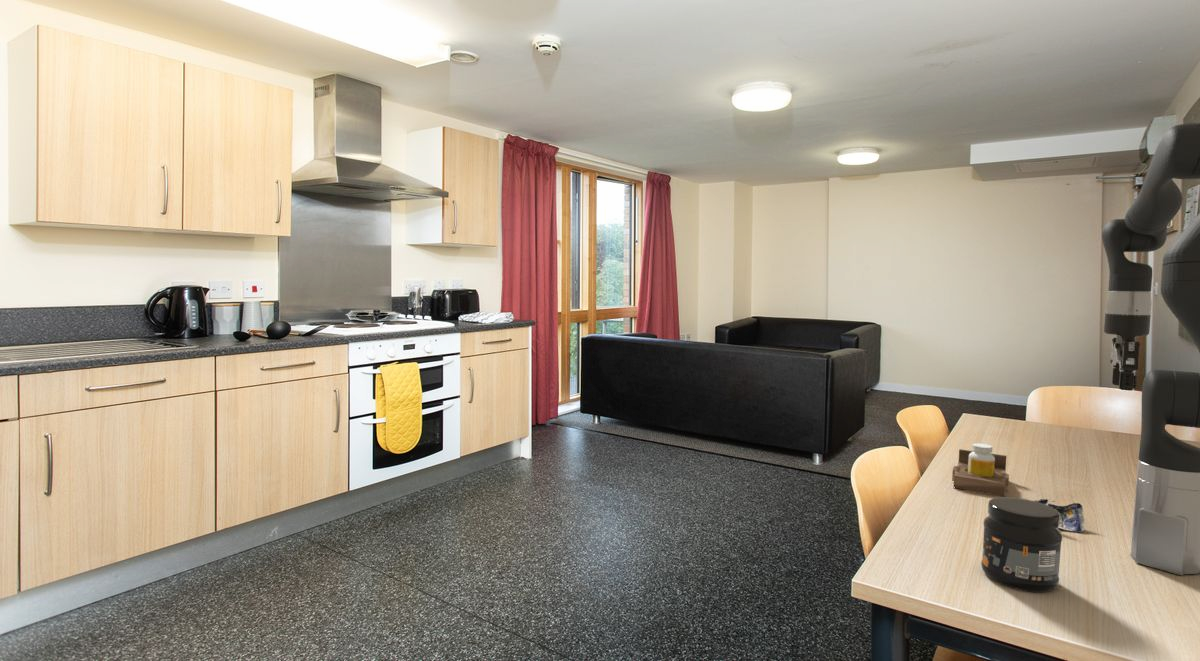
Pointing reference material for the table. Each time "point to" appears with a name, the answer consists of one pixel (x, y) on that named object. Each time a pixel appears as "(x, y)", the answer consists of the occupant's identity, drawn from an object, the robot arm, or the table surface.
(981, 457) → the supplement bottle
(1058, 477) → the table surface
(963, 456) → the brown bottle holder
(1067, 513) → the snack package
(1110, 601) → the table surface
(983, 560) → the supplement container
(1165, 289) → the robot arm
